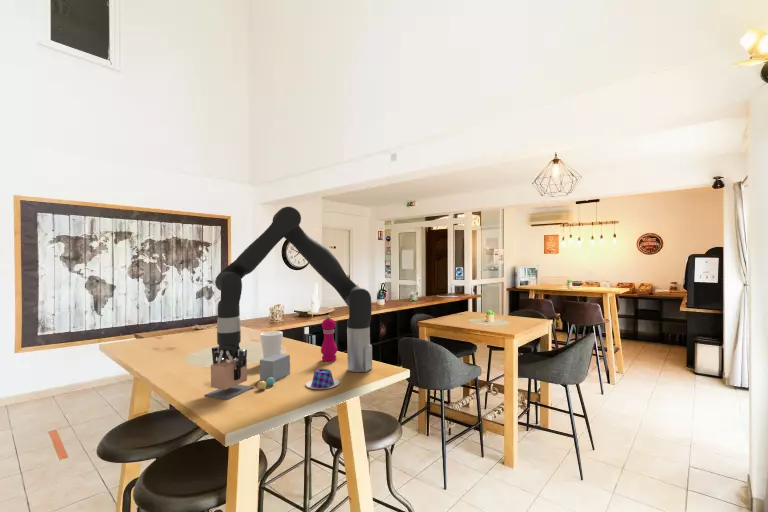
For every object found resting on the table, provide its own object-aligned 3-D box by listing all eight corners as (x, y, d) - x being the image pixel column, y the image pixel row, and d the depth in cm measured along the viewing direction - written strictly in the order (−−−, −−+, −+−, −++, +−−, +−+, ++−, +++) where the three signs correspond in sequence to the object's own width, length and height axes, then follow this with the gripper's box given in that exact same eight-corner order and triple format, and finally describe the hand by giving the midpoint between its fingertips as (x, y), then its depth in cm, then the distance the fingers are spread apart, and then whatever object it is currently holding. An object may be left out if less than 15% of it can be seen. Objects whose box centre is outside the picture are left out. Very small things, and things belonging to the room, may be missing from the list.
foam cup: (276, 366, 160) (276, 335, 160) (256, 365, 161) (256, 335, 161) (286, 360, 169) (286, 331, 169) (267, 359, 171) (267, 330, 171)
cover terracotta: (247, 380, 133) (246, 359, 133) (224, 389, 124) (224, 366, 124) (233, 378, 136) (233, 357, 136) (211, 387, 127) (210, 365, 127)
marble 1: (268, 388, 132) (268, 380, 132) (262, 391, 130) (262, 382, 130) (261, 387, 134) (261, 379, 134) (255, 390, 131) (255, 381, 131)
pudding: (346, 383, 138) (346, 369, 138) (322, 393, 128) (322, 378, 128) (323, 377, 145) (322, 364, 145) (298, 386, 135) (298, 372, 135)
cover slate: (290, 373, 149) (289, 354, 149) (273, 381, 140) (273, 361, 140) (277, 372, 152) (277, 353, 152) (260, 379, 142) (259, 359, 142)
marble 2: (276, 384, 137) (276, 376, 137) (271, 387, 134) (271, 378, 134) (270, 383, 138) (269, 375, 138) (264, 386, 135) (264, 378, 135)
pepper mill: (340, 359, 170) (340, 314, 170) (330, 363, 164) (329, 316, 164) (328, 357, 174) (327, 313, 174) (317, 360, 168) (316, 315, 168)
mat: (253, 387, 133) (253, 386, 133) (227, 399, 122) (227, 398, 122) (231, 384, 137) (231, 383, 137) (204, 395, 126) (204, 394, 126)
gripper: (253, 329, 131) (253, 377, 131) (221, 326, 136) (222, 373, 136) (236, 333, 124) (237, 384, 124) (204, 330, 129) (205, 379, 129)
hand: (229, 378), depth 130 cm, fingers closed on cover terracotta, 6 cm apart
